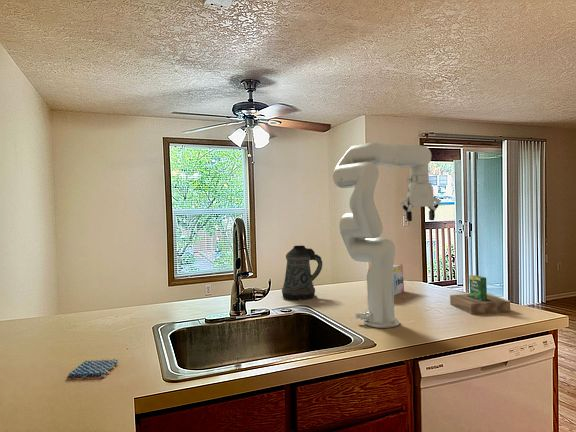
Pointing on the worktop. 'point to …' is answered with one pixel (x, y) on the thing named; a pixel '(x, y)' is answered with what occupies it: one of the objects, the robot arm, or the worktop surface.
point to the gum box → (398, 279)
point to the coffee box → (478, 288)
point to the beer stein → (300, 274)
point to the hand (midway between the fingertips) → (420, 220)
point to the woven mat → (93, 369)
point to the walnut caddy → (480, 304)
